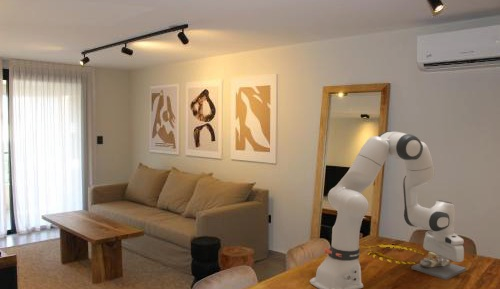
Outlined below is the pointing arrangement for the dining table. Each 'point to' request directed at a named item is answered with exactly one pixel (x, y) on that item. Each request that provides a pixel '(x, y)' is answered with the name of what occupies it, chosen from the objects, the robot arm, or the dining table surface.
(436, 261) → the link
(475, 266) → the dining table surface
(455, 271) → the pintle board
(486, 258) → the dining table surface
